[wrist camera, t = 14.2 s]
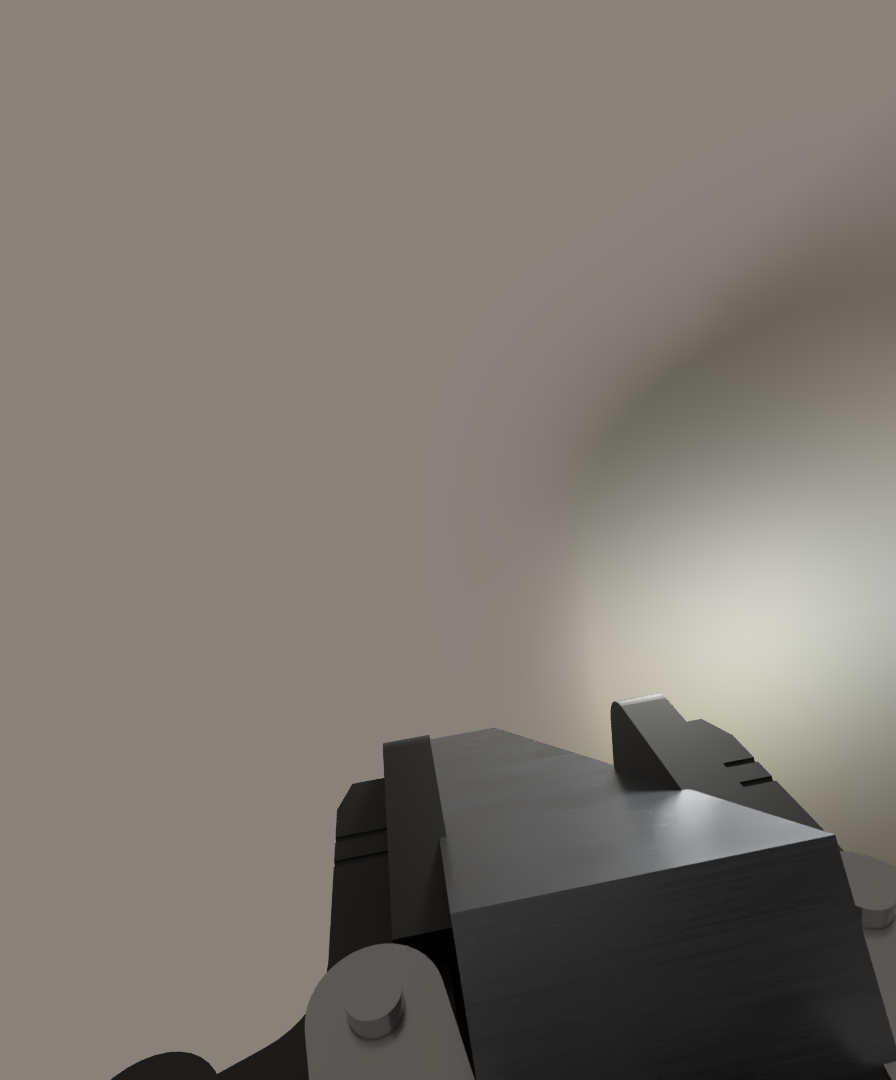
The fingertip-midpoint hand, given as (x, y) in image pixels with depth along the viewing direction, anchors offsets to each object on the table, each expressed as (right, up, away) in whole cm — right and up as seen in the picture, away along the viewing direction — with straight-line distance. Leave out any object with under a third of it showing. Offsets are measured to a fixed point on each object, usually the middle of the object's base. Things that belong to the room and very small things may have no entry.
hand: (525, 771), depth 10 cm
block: (0, -4, +6) cm, 7 cm away
